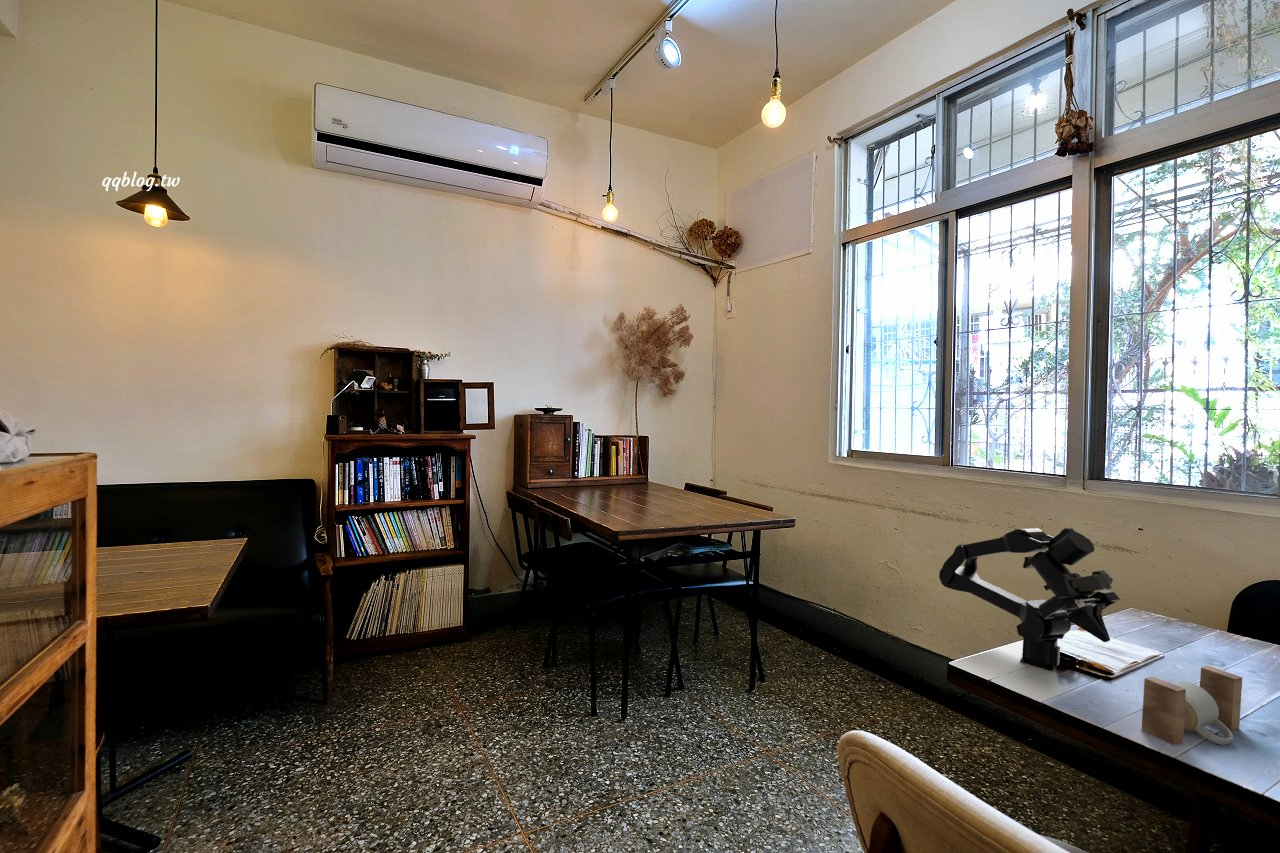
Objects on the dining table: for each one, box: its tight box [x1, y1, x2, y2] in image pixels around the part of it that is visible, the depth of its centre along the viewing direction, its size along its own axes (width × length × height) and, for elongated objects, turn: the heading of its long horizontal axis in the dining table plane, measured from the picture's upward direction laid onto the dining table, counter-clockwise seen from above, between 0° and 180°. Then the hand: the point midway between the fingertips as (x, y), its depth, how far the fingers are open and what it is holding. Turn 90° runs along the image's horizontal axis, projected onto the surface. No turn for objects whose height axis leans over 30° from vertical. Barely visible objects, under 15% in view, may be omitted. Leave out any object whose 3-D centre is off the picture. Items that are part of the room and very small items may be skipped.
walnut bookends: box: [1141, 665, 1243, 746], centre depth 106 cm, size 5×20×10 cm, turn 109°
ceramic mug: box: [1172, 681, 1234, 746], centre depth 106 cm, size 11×8×8 cm
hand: (1107, 641), depth 120 cm, fingers closed
